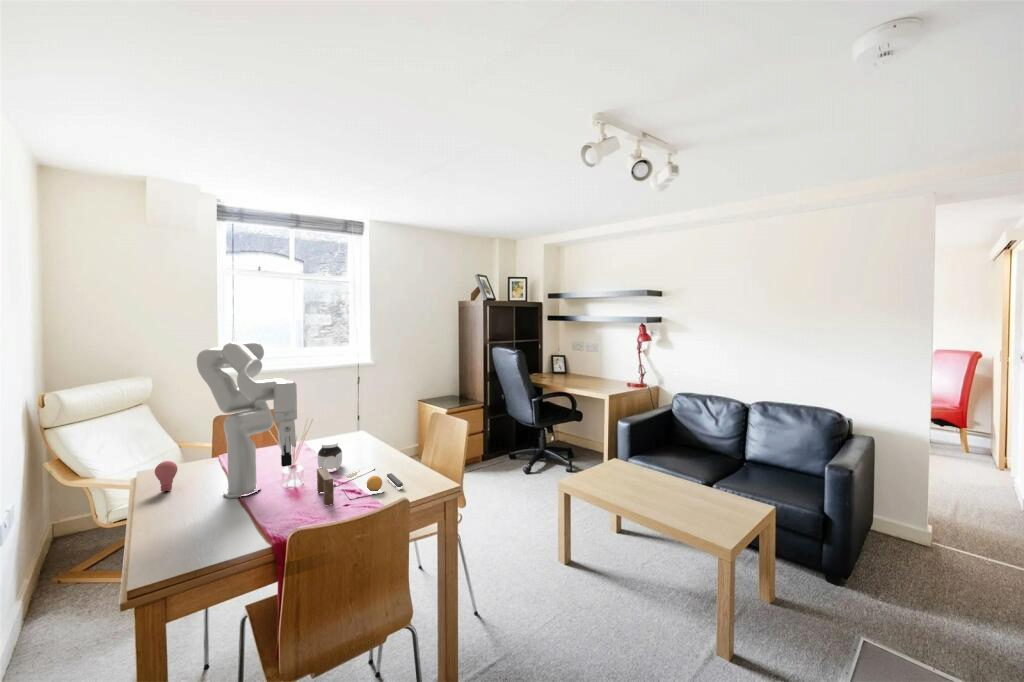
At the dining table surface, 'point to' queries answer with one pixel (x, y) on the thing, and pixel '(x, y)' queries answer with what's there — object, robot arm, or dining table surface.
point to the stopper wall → (395, 480)
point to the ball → (374, 483)
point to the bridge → (325, 485)
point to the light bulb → (166, 474)
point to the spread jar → (330, 455)
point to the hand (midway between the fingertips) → (286, 465)
